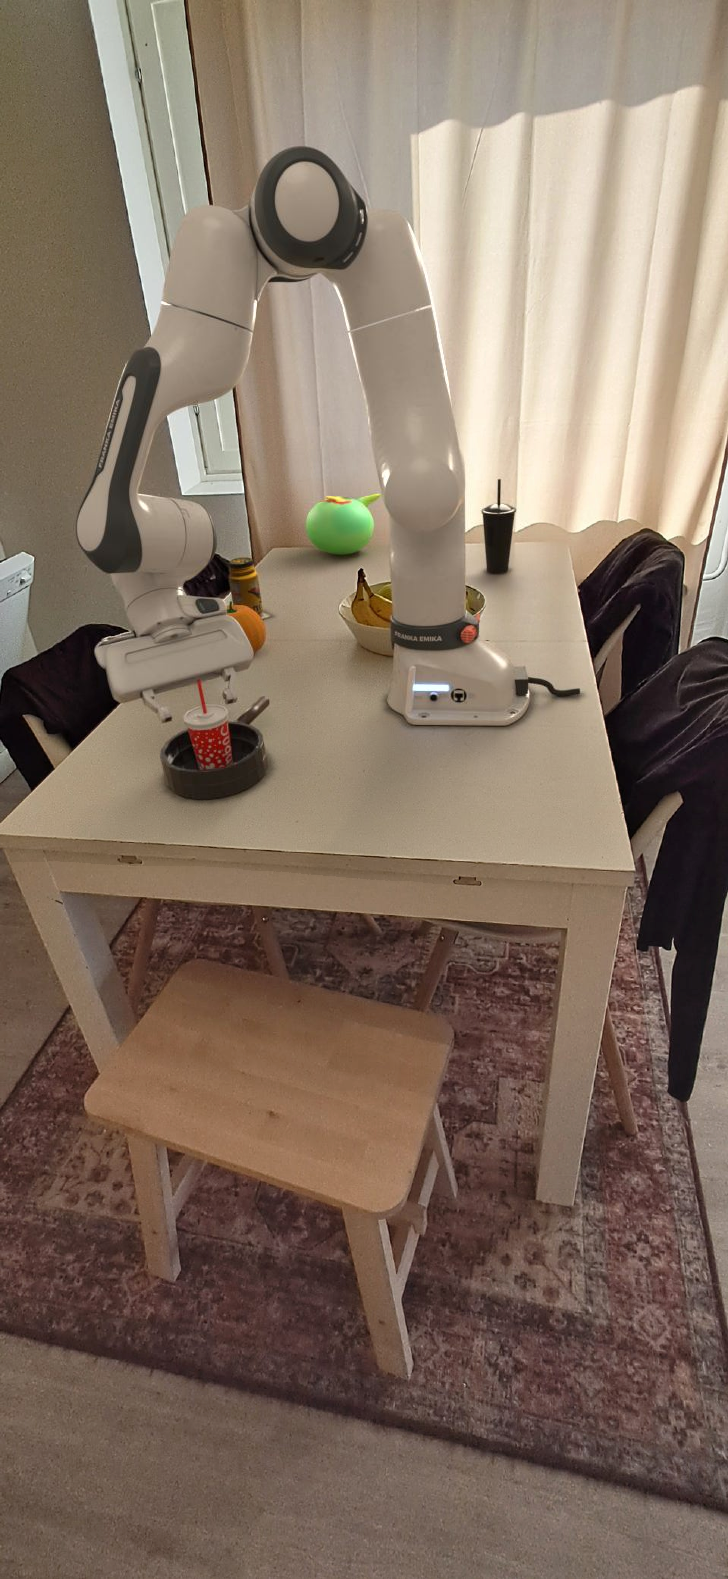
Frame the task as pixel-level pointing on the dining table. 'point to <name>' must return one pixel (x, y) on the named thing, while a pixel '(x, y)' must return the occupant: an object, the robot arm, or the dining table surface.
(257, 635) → the fruit
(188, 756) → the skillet
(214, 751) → the beverage cup
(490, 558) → the drinking cup
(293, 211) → the robot arm
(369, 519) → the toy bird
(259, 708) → the skillet handle
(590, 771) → the dining table surface
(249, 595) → the condiment
